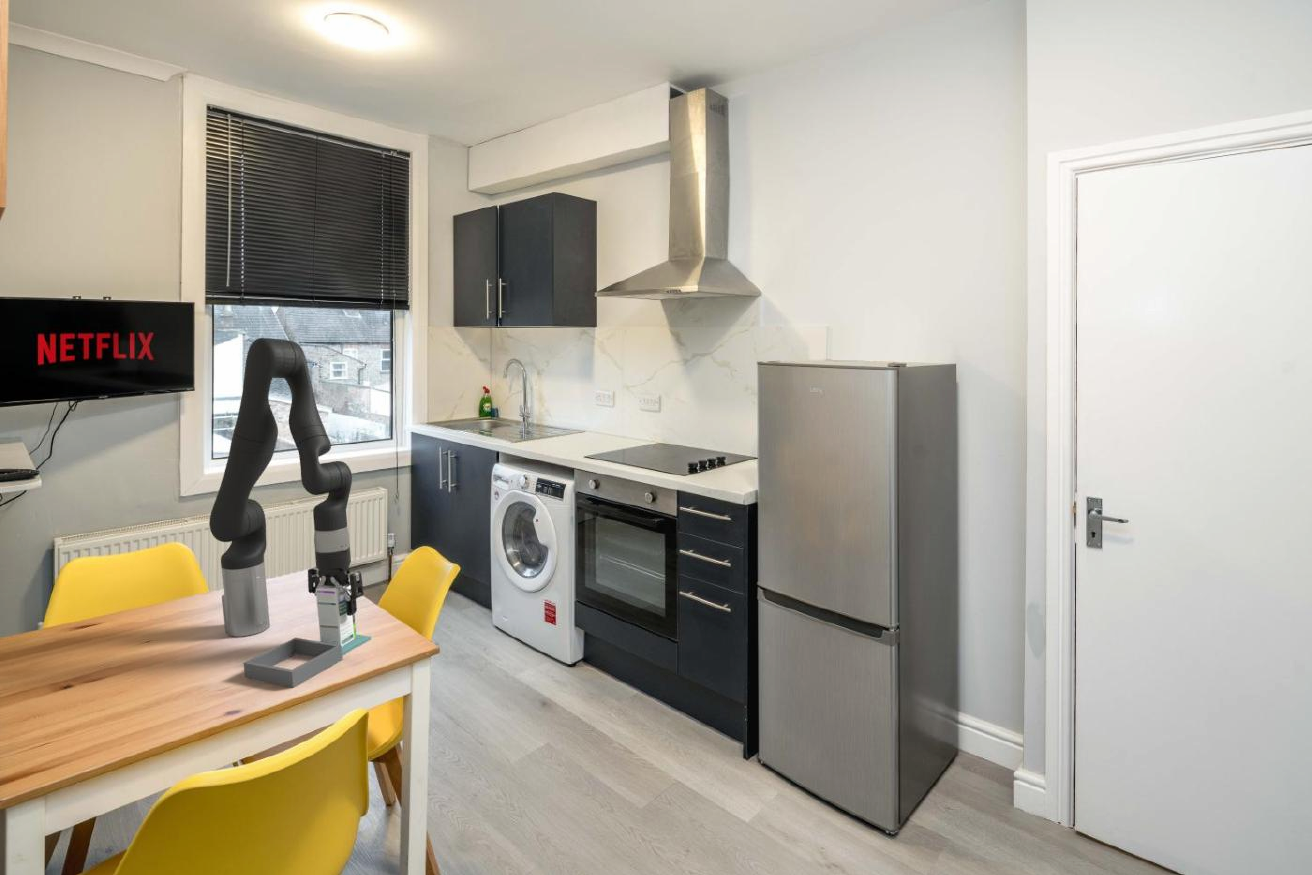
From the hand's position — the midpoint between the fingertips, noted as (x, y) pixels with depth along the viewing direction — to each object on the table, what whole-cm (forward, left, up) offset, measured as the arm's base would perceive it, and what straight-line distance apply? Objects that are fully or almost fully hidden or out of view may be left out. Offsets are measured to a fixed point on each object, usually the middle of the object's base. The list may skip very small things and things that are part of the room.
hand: (337, 612), depth 163 cm
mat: (0, 0, -8) cm, 8 cm away
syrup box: (0, 0, -8) cm, 8 cm away
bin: (0, -13, -8) cm, 15 cm away
